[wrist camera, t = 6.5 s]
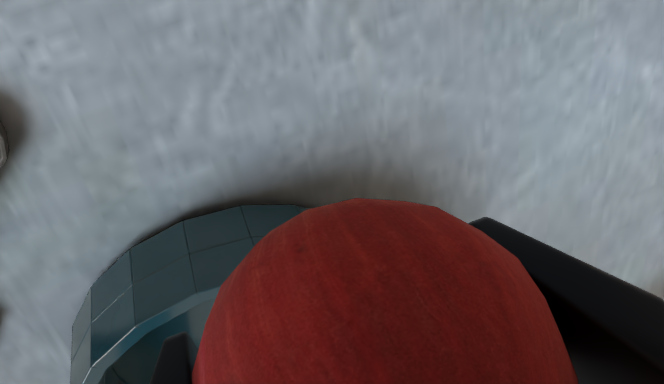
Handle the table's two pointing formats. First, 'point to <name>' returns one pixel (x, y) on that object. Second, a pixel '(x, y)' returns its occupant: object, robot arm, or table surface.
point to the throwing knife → (3, 145)
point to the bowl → (163, 292)
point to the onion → (380, 305)
